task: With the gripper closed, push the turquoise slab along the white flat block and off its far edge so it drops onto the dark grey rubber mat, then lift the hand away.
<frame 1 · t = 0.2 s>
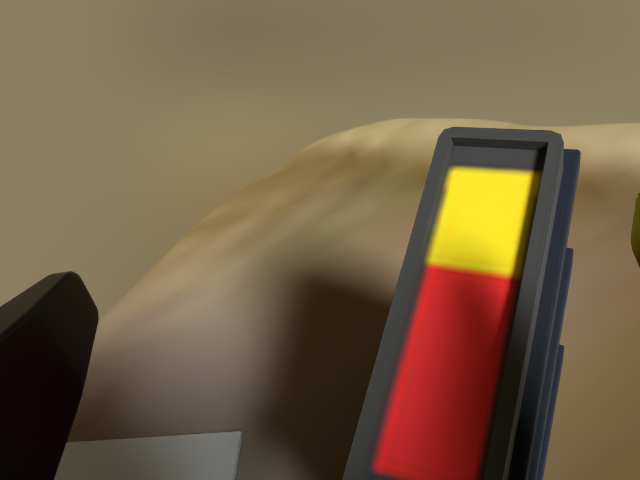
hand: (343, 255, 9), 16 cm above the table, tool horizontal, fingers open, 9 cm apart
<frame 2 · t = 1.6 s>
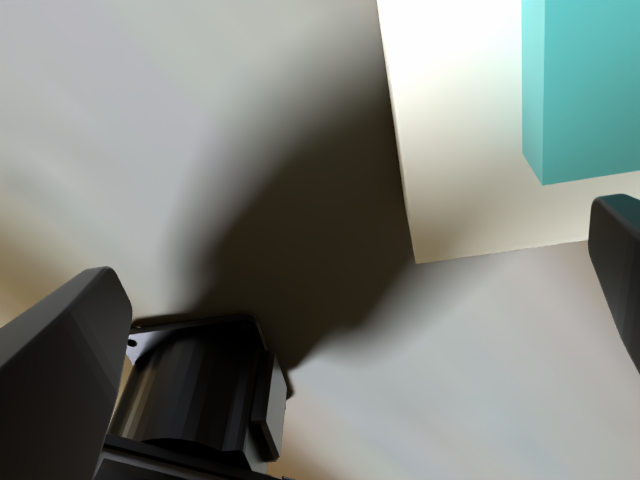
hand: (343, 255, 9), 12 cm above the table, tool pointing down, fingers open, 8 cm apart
white flat block: (584, 14, 18), on the table
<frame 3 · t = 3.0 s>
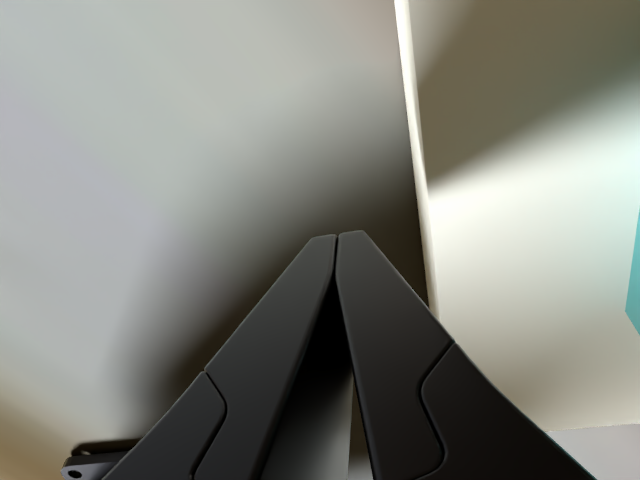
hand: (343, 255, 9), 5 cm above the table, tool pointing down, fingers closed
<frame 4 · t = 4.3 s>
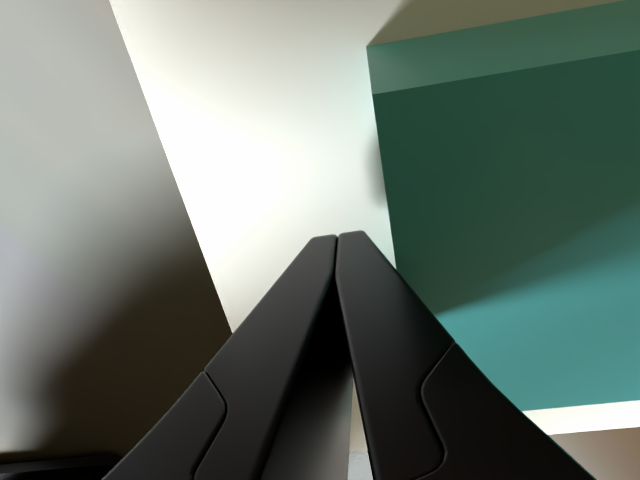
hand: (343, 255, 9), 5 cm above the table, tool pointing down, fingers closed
turquoise slab: (629, 184, 9), point 4 cm above the table, touching white flat block, gripper
white flat block: (509, 125, 13), on the table
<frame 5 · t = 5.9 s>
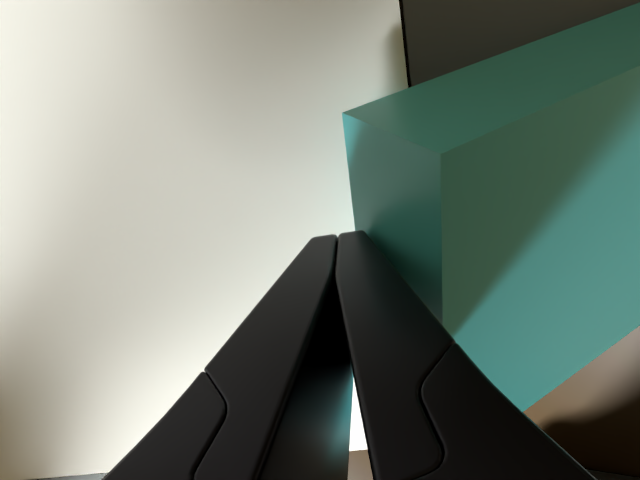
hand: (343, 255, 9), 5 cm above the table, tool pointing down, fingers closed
mat: (633, 144, 13), on the table
turquoise slab: (522, 195, 11), point 3 cm above the table, tilted 35°, touching white flat block, gripper, mat
white flat block: (146, 182, 14), on the table
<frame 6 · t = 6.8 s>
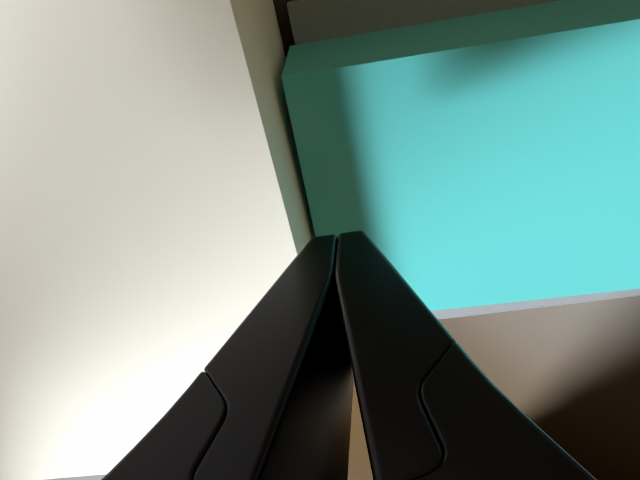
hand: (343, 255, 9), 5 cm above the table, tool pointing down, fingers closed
mat: (534, 158, 14), on the table
turquoise slab: (485, 147, 13), resting on mat
white flat block: (59, 195, 15), on the table
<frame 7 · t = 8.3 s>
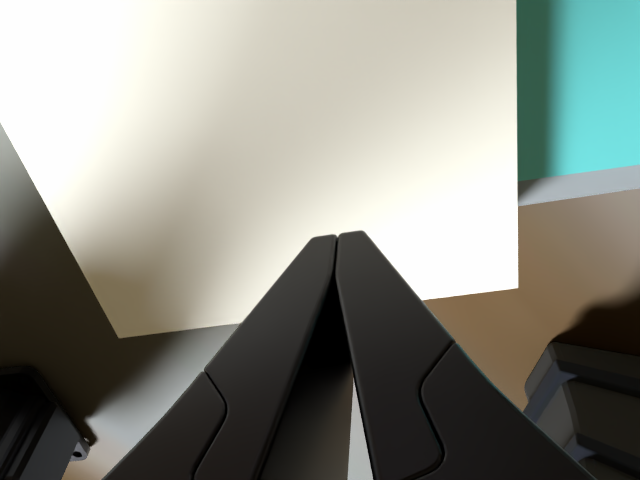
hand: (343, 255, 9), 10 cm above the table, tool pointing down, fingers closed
turquoise slab: (631, 41, 17), resting on mat
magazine: (622, 374, 25), on the table
white flat block: (275, 90, 18), on the table
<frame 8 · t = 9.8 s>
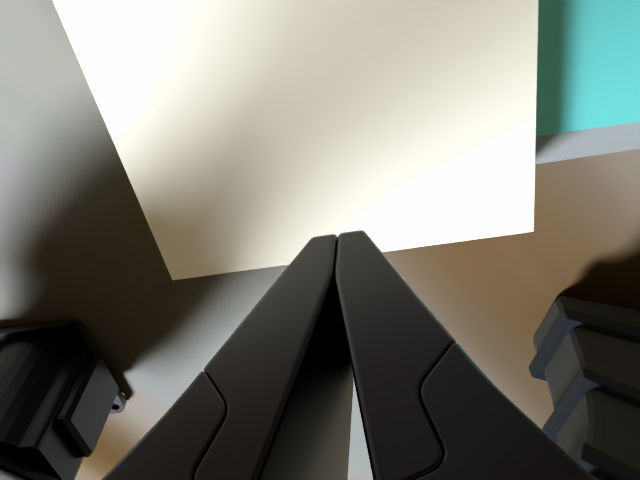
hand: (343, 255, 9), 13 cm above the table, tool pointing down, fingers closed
turquoise slab: (634, 12, 19), resting on mat
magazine: (623, 328, 27), on the table
white flat block: (317, 56, 20), on the table
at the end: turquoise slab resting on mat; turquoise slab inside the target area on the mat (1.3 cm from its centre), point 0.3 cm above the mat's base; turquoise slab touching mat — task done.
